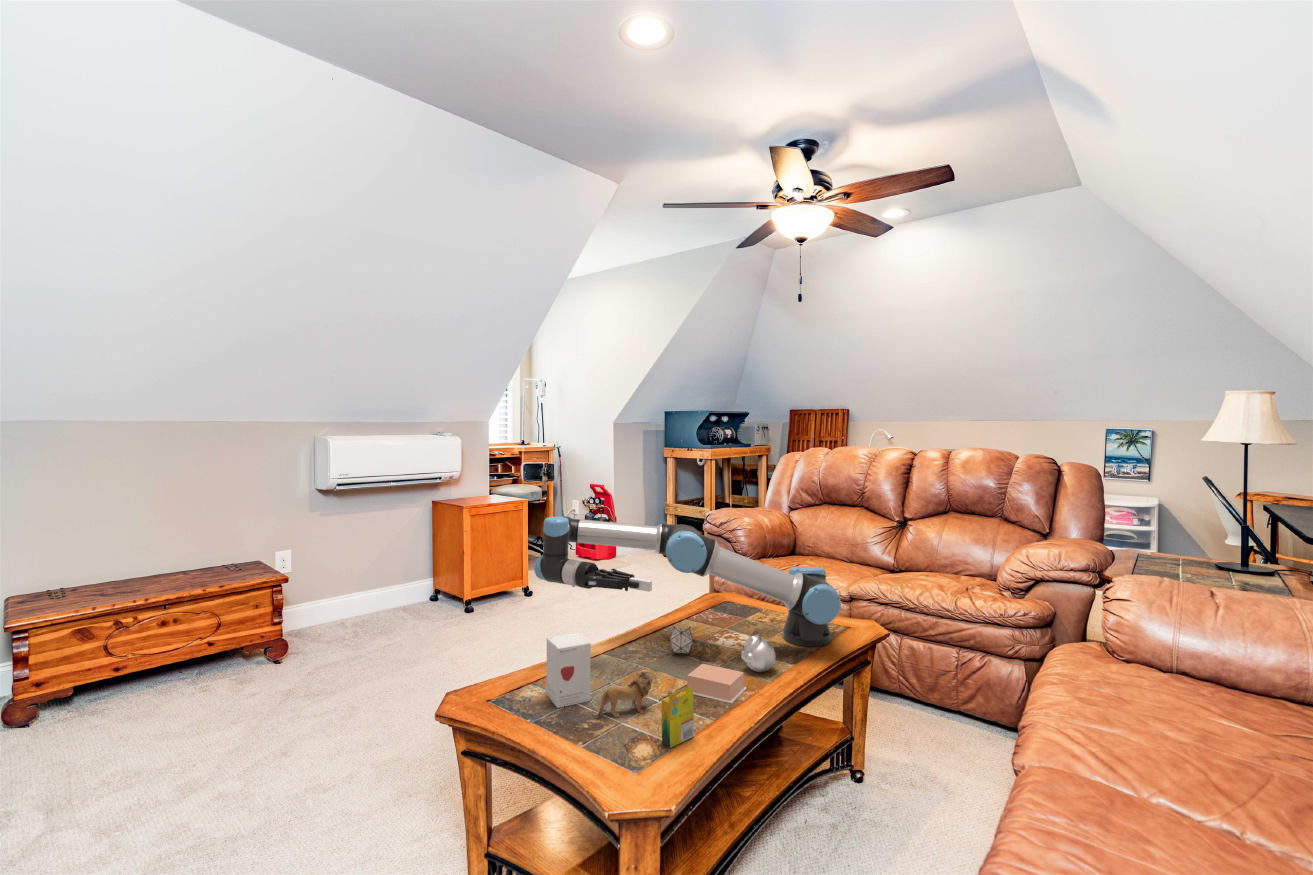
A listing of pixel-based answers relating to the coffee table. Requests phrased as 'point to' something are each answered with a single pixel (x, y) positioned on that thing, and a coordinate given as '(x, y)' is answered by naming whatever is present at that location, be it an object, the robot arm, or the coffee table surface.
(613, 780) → the coffee table surface
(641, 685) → the lion figurine
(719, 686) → the peach rectangular block
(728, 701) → the felt mat
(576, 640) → the supplement box
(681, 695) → the crayon box
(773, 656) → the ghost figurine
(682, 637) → the game die
